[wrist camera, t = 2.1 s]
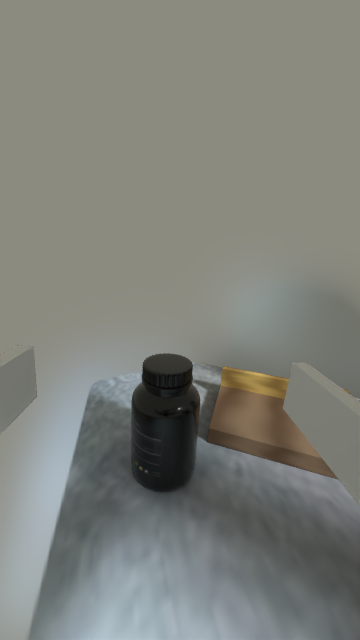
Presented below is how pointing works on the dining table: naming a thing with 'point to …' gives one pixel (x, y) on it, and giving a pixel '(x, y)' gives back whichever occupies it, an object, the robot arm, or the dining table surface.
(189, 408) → the supplement bottle
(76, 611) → the dining table surface
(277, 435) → the brown flat block
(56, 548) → the dining table surface
